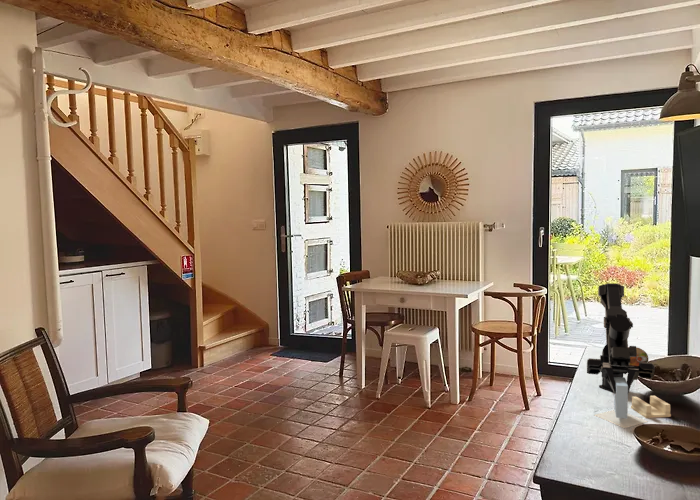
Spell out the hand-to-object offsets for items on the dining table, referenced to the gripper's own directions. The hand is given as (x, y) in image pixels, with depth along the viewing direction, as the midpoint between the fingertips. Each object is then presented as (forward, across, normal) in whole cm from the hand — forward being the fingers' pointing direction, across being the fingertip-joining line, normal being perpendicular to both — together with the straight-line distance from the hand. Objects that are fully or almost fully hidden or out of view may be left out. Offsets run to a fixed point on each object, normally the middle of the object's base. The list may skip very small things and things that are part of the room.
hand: (621, 393), depth 164 cm
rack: (0, +9, +13) cm, 16 cm away
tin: (-34, +7, +46) cm, 58 cm away
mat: (+5, 0, +7) cm, 9 cm away
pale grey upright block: (+4, 0, +6) cm, 7 cm away
